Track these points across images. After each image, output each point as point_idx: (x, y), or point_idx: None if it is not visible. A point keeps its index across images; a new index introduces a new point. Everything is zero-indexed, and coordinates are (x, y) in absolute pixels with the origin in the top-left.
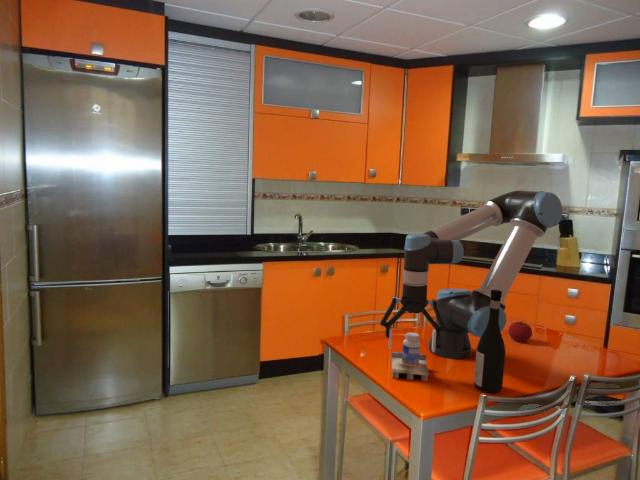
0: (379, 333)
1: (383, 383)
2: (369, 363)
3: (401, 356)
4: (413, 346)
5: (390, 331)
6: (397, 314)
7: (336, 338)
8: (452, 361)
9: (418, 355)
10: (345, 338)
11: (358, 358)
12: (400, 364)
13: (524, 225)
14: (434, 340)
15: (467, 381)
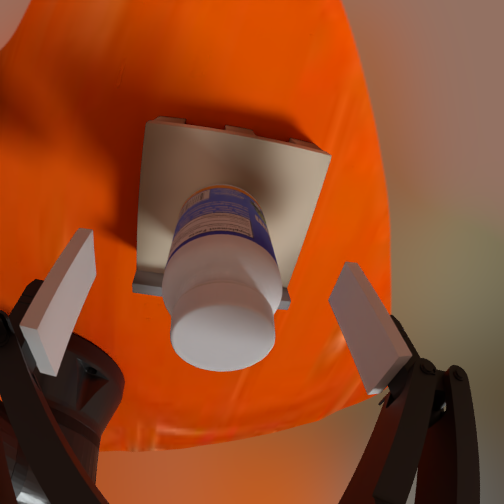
0: (246, 432)
1: (366, 97)
2: None
3: None
4: (223, 239)
5: (398, 341)
6: (413, 475)
7: (363, 397)
8: None
9: (181, 222)
10: (342, 402)
11: None
12: (272, 211)
13: None
14: (55, 276)
15: (10, 151)
